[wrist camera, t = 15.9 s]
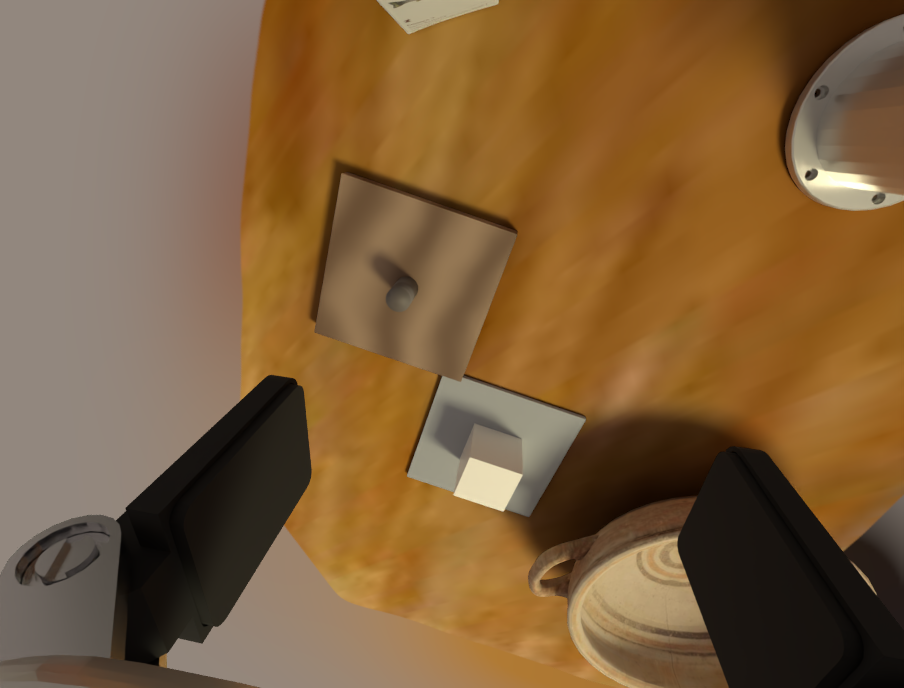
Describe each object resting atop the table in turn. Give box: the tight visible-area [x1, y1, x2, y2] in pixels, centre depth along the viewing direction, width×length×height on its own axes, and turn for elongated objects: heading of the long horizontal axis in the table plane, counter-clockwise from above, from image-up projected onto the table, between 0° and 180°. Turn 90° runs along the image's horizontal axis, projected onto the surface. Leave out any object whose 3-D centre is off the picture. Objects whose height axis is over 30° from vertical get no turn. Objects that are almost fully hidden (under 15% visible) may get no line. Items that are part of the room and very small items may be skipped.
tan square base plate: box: [314, 172, 517, 382], centre depth 39 cm, size 16×16×5 cm
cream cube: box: [454, 423, 523, 512], centre depth 45 cm, size 6×6×6 cm
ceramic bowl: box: [528, 496, 876, 688], centre depth 47 cm, size 37×29×10 cm
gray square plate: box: [407, 375, 586, 517], centre depth 48 cm, size 16×16×1 cm
